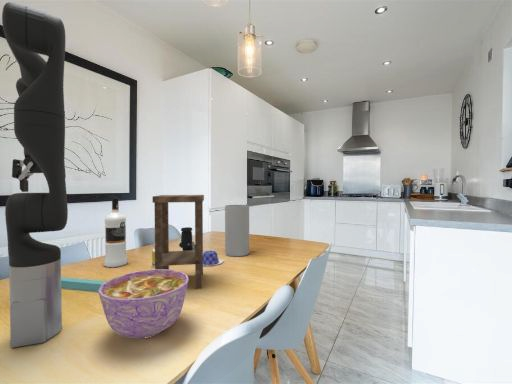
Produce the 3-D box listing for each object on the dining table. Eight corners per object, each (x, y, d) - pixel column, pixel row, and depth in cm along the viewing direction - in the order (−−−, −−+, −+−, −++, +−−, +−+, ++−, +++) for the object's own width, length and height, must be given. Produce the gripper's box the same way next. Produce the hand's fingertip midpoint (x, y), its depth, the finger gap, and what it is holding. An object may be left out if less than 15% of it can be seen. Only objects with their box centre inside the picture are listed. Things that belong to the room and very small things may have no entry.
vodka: (117, 260, 123) (117, 197, 122) (132, 263, 119) (131, 197, 119) (99, 266, 114) (98, 197, 114) (114, 268, 111) (113, 198, 110)
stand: (153, 292, 86) (152, 196, 86) (162, 275, 102) (161, 195, 101) (202, 288, 89) (202, 196, 88) (204, 273, 105) (203, 194, 104)
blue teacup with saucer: (208, 269, 111) (208, 256, 111) (191, 263, 119) (191, 252, 119) (228, 262, 121) (228, 251, 121) (211, 258, 128) (210, 247, 128)
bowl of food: (161, 303, 78) (161, 264, 78) (205, 326, 65) (205, 279, 65) (85, 332, 62) (84, 284, 62) (123, 369, 50) (122, 309, 49)
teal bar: (48, 288, 91) (48, 279, 91) (56, 284, 94) (56, 276, 94) (107, 293, 86) (107, 284, 86) (114, 290, 89) (114, 281, 89)
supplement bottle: (160, 267, 112) (160, 245, 112) (149, 267, 113) (149, 244, 113) (167, 264, 117) (167, 242, 117) (156, 263, 118) (156, 242, 118)
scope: (194, 229, 127) (175, 229, 129) (194, 258, 127) (175, 257, 129) (201, 227, 135) (183, 226, 137) (201, 254, 135) (183, 253, 137)
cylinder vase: (221, 255, 131) (220, 206, 131) (230, 250, 143) (230, 204, 143) (244, 257, 128) (244, 206, 127) (252, 251, 140) (252, 205, 139)
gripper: (4, 139, 80) (6, 192, 81) (56, 140, 83) (57, 191, 83) (22, 143, 88) (23, 191, 88) (69, 144, 90) (69, 191, 90)
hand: (39, 191), depth 86 cm, fingers open, 8 cm apart
